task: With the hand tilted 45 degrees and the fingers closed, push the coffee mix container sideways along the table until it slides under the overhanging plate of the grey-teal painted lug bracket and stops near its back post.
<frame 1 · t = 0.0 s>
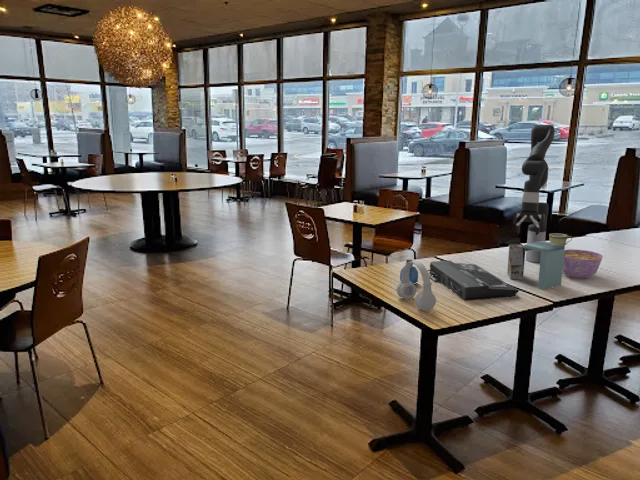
hand: (527, 234, 240), 22 cm above the table, tool pointing down, fingers open, 8 cm apart
ceramic cup: (559, 251, 293), on the table
vintage computer: (468, 286, 236), on the table
bowl of food: (577, 276, 244), on the table
headphones: (415, 304, 211), on the table
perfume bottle: (408, 284, 239), on the table
coffee box: (515, 277, 246), on the table
lug bracket: (541, 284, 234), on the table
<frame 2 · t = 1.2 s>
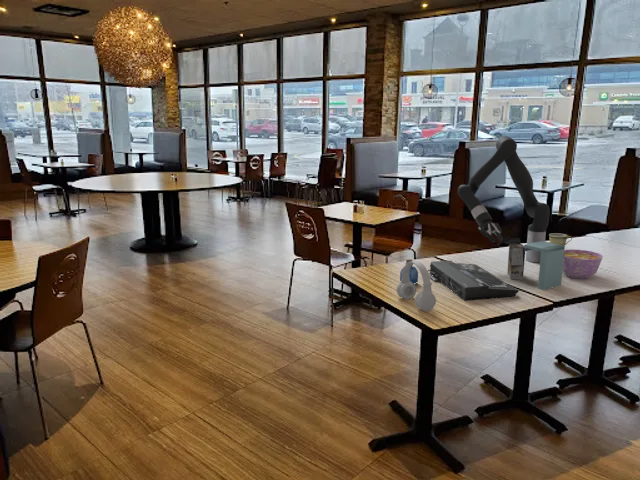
hand: (497, 241, 253), 16 cm above the table, tool tilted 45°, fingers open, 5 cm apart
nothing on the table moved.
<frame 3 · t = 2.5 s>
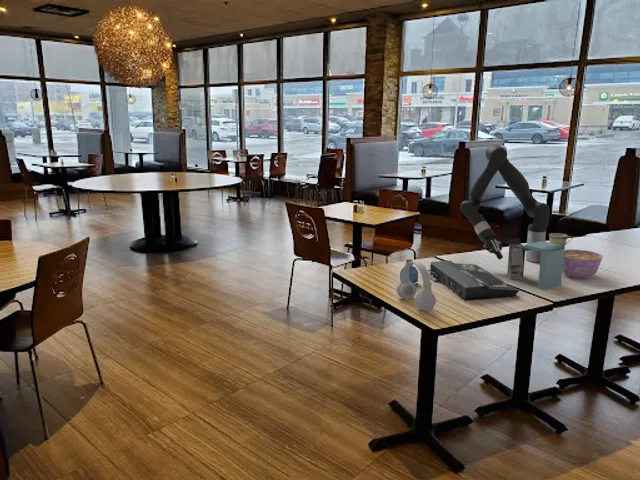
hand: (501, 258, 252), 8 cm above the table, tool tilted 45°, fingers closed
nothing on the table moved.
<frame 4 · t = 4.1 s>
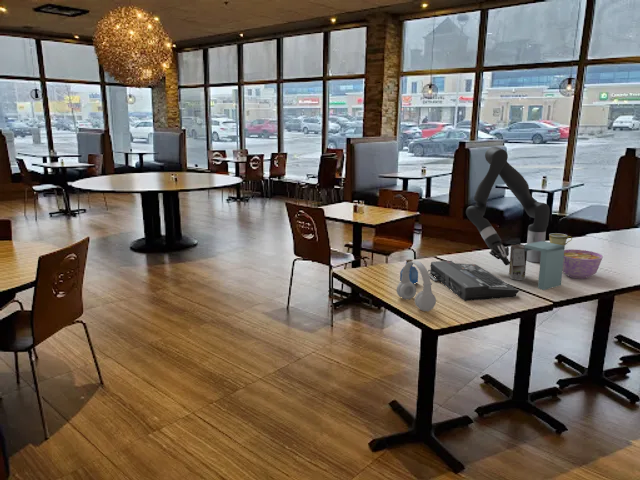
hand: (508, 264, 249), 5 cm above the table, tool tilted 45°, fingers closed
coffee box: (516, 277, 245), on the table, touching gripper
everything else where it was.
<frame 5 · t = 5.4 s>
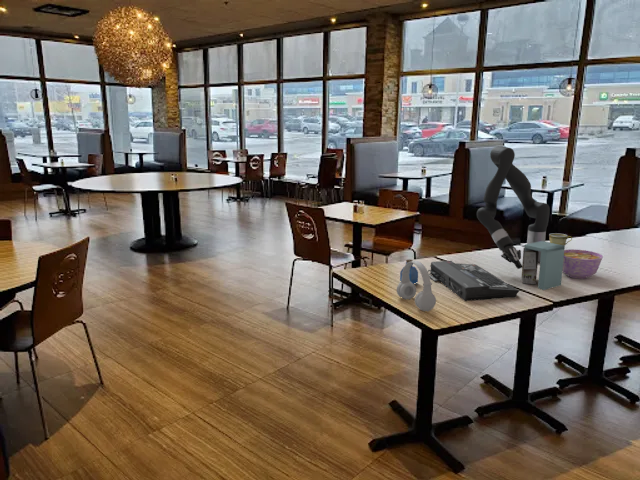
hand: (520, 267, 243), 5 cm above the table, tool tilted 45°, fingers closed
coffee box: (528, 281, 239), on the table, touching gripper
everything else where it was.
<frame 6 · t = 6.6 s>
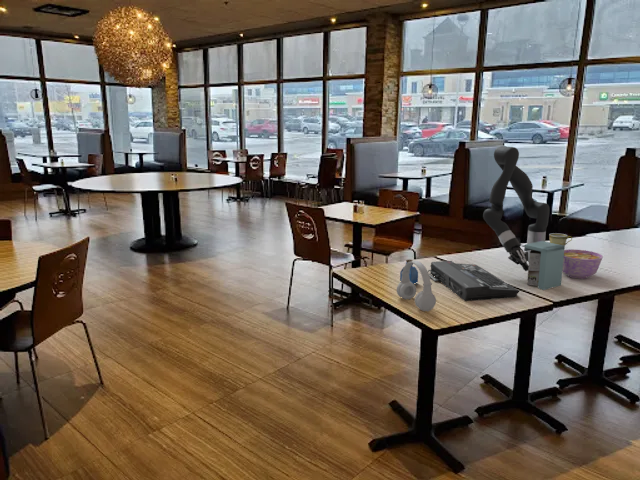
hand: (527, 270, 239), 5 cm above the table, tool tilted 45°, fingers closed
coffee box: (534, 283, 236), on the table, touching gripper
everything else where it was.
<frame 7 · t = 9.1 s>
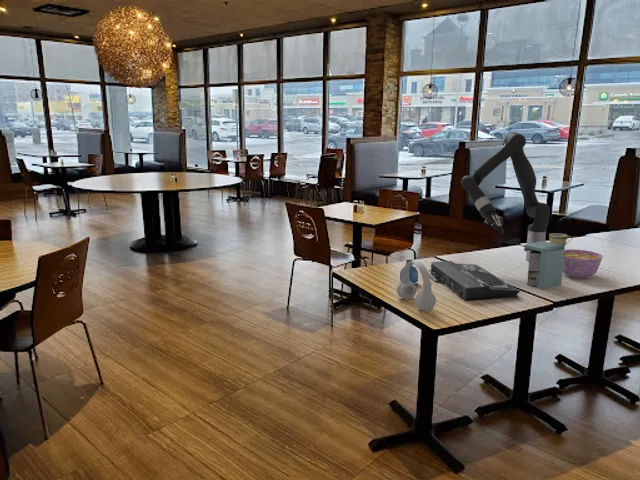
hand: (502, 233, 249), 21 cm above the table, tool tilted 45°, fingers closed
coffee box: (535, 283, 236), on the table
everything else where it was.
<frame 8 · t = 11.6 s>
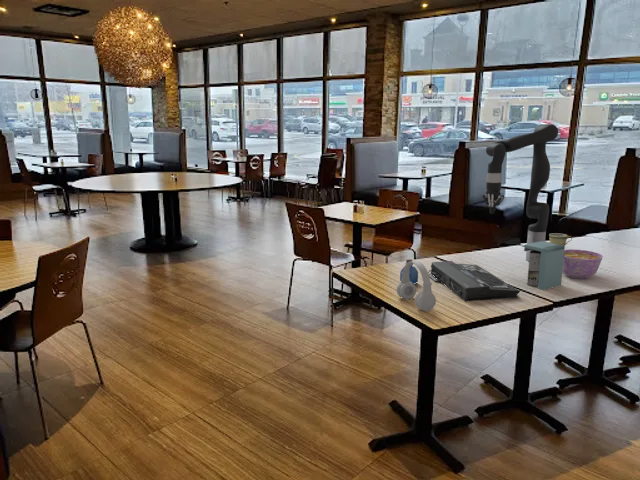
hand: (492, 213, 261), 29 cm above the table, tool pointing down, fingers closed
nothing on the table moved.
at the end: coffee box inside the target area (1.2 cm from its centre), on the table; coffee box tilted 0°; coffee box moved 12.2 cm from its start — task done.
